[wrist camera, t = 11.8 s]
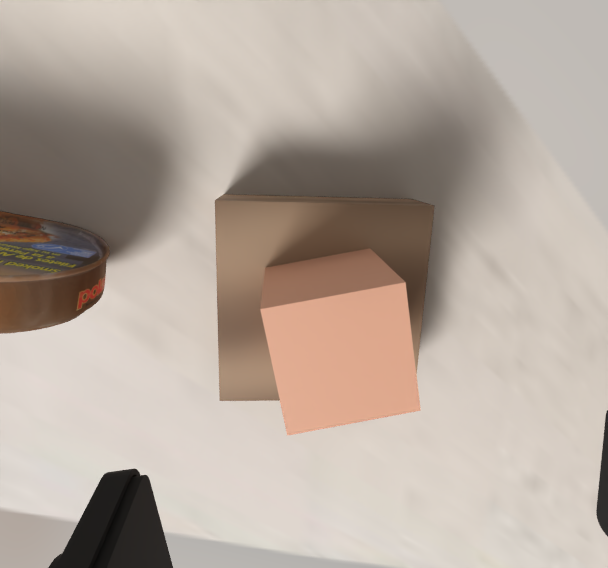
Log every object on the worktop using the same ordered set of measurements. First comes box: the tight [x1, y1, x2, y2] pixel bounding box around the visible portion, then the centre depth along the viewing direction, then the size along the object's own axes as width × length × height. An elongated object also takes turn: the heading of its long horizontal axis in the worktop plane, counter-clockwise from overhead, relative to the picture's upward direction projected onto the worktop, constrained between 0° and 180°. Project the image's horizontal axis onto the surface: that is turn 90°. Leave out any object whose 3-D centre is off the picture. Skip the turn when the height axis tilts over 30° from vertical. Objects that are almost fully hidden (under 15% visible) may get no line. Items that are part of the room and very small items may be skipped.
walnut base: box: [215, 194, 434, 401], centre depth 23 cm, size 10×10×4 cm
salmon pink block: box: [260, 248, 420, 435], centre depth 19 cm, size 5×5×6 cm
